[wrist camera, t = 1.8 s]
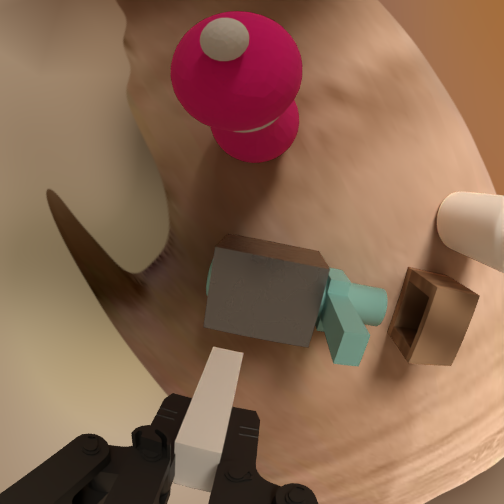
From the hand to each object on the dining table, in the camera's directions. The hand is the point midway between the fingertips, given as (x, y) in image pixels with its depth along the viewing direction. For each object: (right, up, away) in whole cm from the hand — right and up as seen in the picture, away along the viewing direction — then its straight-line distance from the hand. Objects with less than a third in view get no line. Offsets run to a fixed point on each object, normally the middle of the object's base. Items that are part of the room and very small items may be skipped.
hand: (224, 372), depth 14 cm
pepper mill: (+2, +18, +13) cm, 22 cm away
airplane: (+6, +3, +15) cm, 16 cm away
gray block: (+3, +4, +16) cm, 17 cm away
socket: (+20, 0, +15) cm, 25 cm away
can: (+24, +9, +13) cm, 29 cm away
